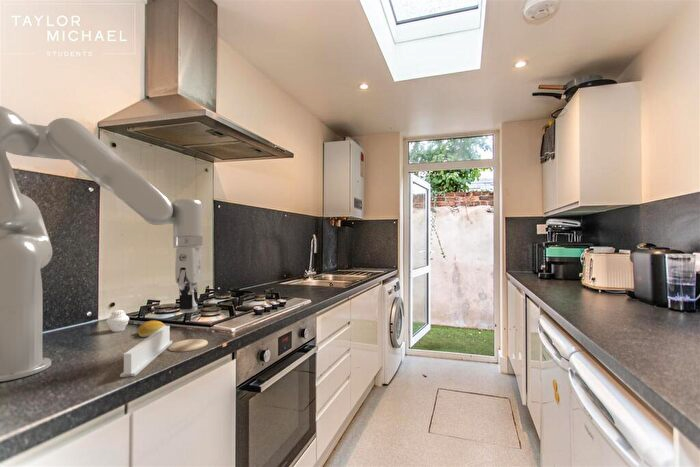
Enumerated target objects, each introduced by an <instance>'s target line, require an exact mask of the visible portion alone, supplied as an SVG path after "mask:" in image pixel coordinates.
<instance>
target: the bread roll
mask: <svg viewBox="0 0 700 467" xmlns="http://www.w3.org/2000/svg"><path fill="white" fill-rule="evenodd" d="M163 326H167V324H165V323H163V322H162V321H159V320H148V321H145V322H144V323H142V324H141V325H140V326H139V327H138V328H137V331H136V332H137V334H138V335H139V337H140V338H147V337H149V336H150V335H152V334H153V333H155V332H156V331H158V330H159V329H160V328H162V327H163Z"/></svg>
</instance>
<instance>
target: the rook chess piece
mask: <svg viewBox="0 0 700 467" xmlns="http://www.w3.org/2000/svg"><path fill="white" fill-rule="evenodd" d="M187 287H188V286H187ZM194 287H195V285H194V284H193V283H192V286H191V294H192V300H193V308H192V309H184V310H180V312H181V313H183V314H184V313H185V314H188V313H194V312H197V311H198V310H199V308H198V304H196V302H195V299H194Z"/></svg>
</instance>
